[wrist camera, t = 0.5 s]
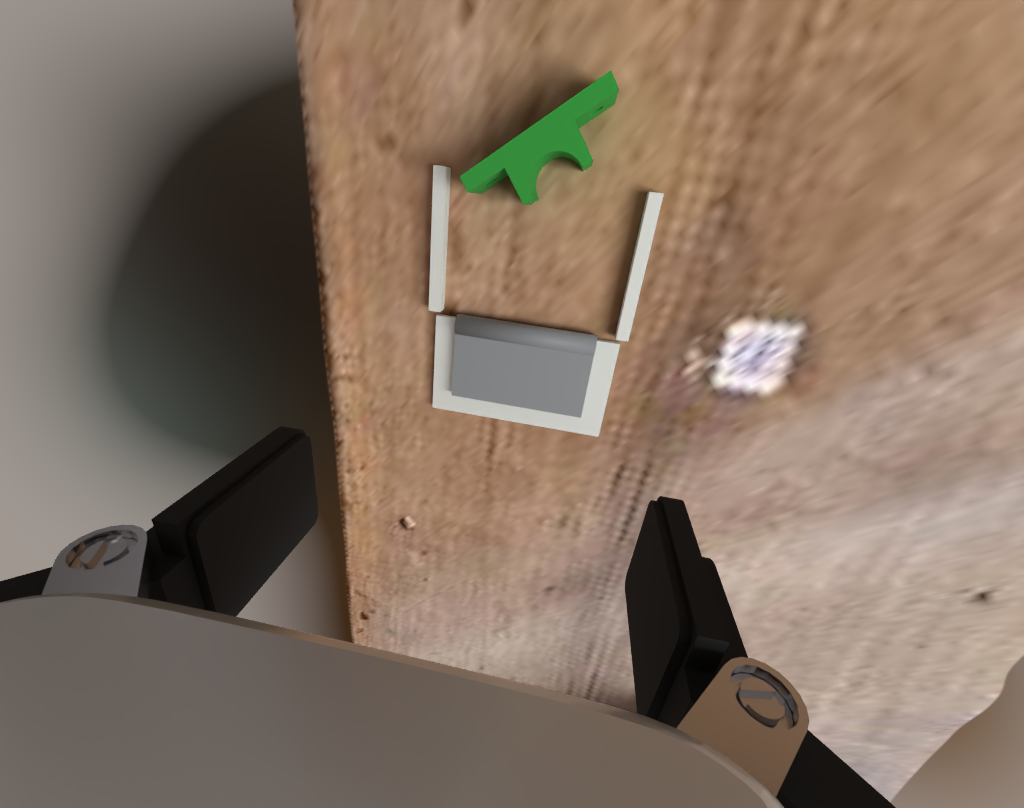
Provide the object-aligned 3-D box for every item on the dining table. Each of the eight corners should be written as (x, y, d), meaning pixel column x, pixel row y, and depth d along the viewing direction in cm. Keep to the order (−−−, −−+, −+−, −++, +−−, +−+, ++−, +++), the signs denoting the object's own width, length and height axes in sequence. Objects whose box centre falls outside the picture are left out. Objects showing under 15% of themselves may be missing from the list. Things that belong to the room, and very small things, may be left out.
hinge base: (438, 166, 33) (430, 164, 32) (661, 193, 32) (665, 193, 30) (429, 403, 42) (423, 411, 41) (603, 434, 41) (604, 444, 39)
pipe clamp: (498, 225, 35) (486, 228, 31) (474, 179, 34) (458, 176, 30) (630, 141, 31) (636, 132, 27) (608, 87, 30) (611, 68, 26)
